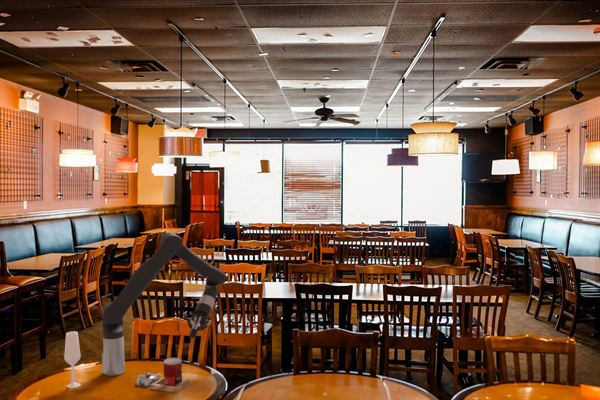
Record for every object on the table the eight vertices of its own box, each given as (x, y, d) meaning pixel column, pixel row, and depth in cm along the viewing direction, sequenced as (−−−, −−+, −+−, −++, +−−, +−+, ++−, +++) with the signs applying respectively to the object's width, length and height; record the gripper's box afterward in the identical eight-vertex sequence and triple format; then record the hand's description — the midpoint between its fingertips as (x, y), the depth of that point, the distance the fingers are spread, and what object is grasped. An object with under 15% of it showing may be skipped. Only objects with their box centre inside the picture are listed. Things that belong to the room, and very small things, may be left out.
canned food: (178, 388, 235) (177, 363, 234) (161, 387, 236) (160, 363, 236) (184, 382, 242) (184, 358, 242) (168, 381, 244) (167, 357, 243)
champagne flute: (84, 384, 241) (83, 331, 240) (74, 390, 235) (72, 335, 234) (72, 382, 243) (71, 330, 242) (61, 388, 237) (60, 334, 236)
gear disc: (132, 384, 240) (132, 376, 240) (145, 377, 249) (145, 368, 249) (151, 387, 236) (150, 378, 236) (163, 379, 245) (163, 371, 245)
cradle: (150, 388, 235) (150, 384, 235) (164, 380, 245) (164, 376, 245) (176, 392, 231) (176, 388, 231) (189, 383, 240) (189, 379, 240)
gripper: (190, 301, 266) (176, 332, 255) (214, 303, 261) (201, 335, 250) (196, 309, 271) (182, 340, 260) (219, 311, 267) (206, 343, 255)
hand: (191, 337), depth 255 cm, fingers closed
